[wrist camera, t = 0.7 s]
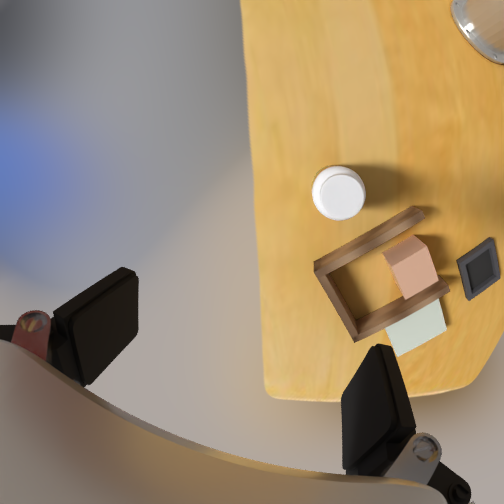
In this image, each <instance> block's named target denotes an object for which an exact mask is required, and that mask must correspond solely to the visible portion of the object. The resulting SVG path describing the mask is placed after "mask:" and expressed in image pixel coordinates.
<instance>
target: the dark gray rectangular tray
mask: <svg viewBox="0 0 504 504" xmlns="http://www.w3.org/2000/svg"><path fill="white" fill-rule="evenodd" d="M456 261H457V264H458V268H459V271H460V275H461V279H462V283H463V288H464V292H465V296H466V298H467V299H468V301H470V300H471V299H473V298H474V297H475V296H477V295H478V294H480V293H481V292H483V291H484V290H485V289H487V288H488V287H489V286H491V285H492V284H493V283H495V282H496V281H497V280H499V279H500V272H499V266H498V260H497V255H496V250H495V245H494V240H493V239H492V238H490V237H489V238H487V239H486V240H485V241H483V242H482V243H481V244H479V245H478V246H476V247H475V248H474V249H472V250H471V251H469V252H468V253H466V254H465V255H463V256H462V257H460V258H459V259H457V260H456Z"/></svg>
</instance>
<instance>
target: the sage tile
mask: <svg viewBox="0 0 504 504" xmlns="http://www.w3.org/2000/svg"><path fill="white" fill-rule="evenodd" d="M385 330H386V332H387V334H388V336H389V339H390V341H391V343H392V346H393V348H394V350H395V353H396V355H397V357H398V356H400V355H402V354H404V353H406V352H408V351H410V350H412V349H414V348H416V347H417V346H419V345H421V344H423V343H425V342H427V341H428V340H430V339H432V338H434V337H436V336H437V335H439V334H441V333H442V332H444V331H446V330H447V328H446V324H445V320H444V317H443V313H442V309H441V306H440V302H439V299H437V300H435V301H434V302H432V303H430V304H428V305H427V306H425V307H423V308H422V309H420V310H418V311H416V312H415V313H413V314H411V315H409V316H407V317H405V318H404V319H402V320H400V321H398V322H396V323H394V324H392V325H390V326H388V327H386V328H385Z"/></svg>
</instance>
